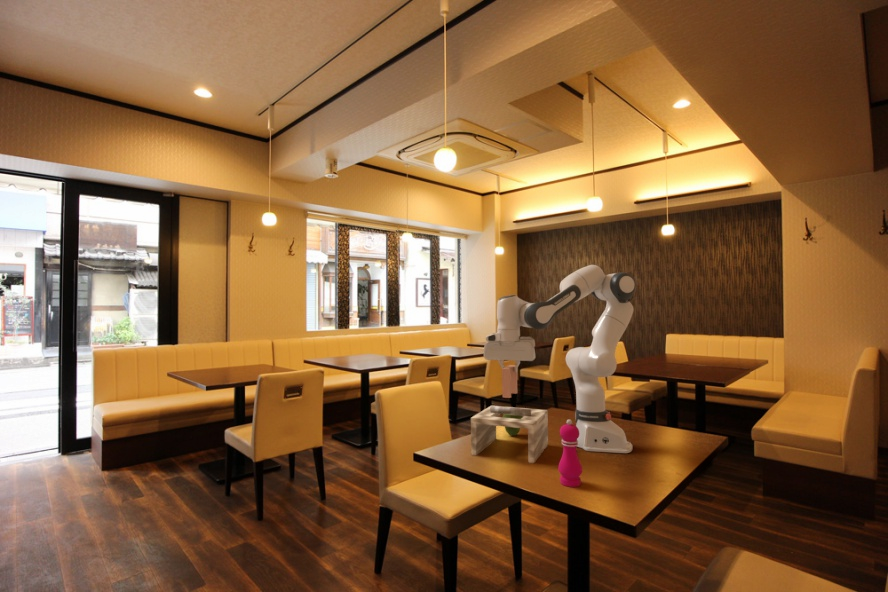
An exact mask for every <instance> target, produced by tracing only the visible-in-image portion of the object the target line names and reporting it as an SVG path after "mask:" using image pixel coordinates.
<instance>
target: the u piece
mask: <svg viewBox="0 0 888 592" xmlns="http://www.w3.org/2000/svg"><path fill="white" fill-rule="evenodd" d="M515 366H516V365H514V364H512V365H511V364H509V365H506V366H504V368H502V367H501V387H502V388H501V389H502V398H506V399H507V398H508V399H510V398H512V394H515V395H516V394H518V371H517V372H513V367H515Z"/></svg>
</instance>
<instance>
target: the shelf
mask: <svg viewBox="0 0 888 592" xmlns="http://www.w3.org/2000/svg"><path fill="white" fill-rule="evenodd" d="M503 414H508V415H519V416H522V417H523V418H521V419H513V418H503V416H502V417H501V415H503ZM548 414H549V413H548V409H537V408H527V407H526V408H525V407H516V406H515V407H513V406H501V405H490V406H488V407H487V408H484V409H483V410H482V411H480V412H478V413H476V414H474V415H473V416H472V417H470V438H471V439H470V448H471V449H470V451H471V453H470V455H472V456H478V455H479V454H480V453H481V452H482V451H484V450H485V449H486V448H487V447H488V446H490V445H491V444H492V443H493V442H494V441H495V439H496V440H497V427H504V428H505V427H515V428H520V429H525V430H527V452H528V453H527V454H528V456H527V457H528V458H527V460H528V463H529V464H535V463H536V461H537V460H538V459H539V458H540V456H541V455H542V454H543V452H544V451H545V450H546V448H548V446H549V430H548V429H549V426H548V425H549V424H548V423H549V421H548V418H549V416H548ZM490 443H491V444H490ZM489 444H490V445H489ZM547 445H548V446H547ZM544 449H545V450H544ZM541 453H542V454H541Z"/></svg>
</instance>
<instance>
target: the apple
mask: <svg viewBox="0 0 888 592" xmlns="http://www.w3.org/2000/svg"><path fill="white" fill-rule="evenodd" d="M502 417H503V418H513V419H521V418H523V417H524V416H519V415H508V414H502ZM504 429H505V431H506V433H507V434H508V435H509V436H515V437H516V436H517V435H518V434H519V433H520V430H521V428H515V427H505V426H504Z"/></svg>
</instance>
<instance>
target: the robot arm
mask: <svg viewBox="0 0 888 592" xmlns="http://www.w3.org/2000/svg"><path fill="white" fill-rule="evenodd" d="M636 289H637V281H636V279H635V278H634V276H633V275H632V274H630V273H629V272H624V271H623V272H621V271H620V272H615V273H609V274H605V273H604V271H603V269H602V268H601V267H600V266H599V265H596V264H588V265H586V266H584V267H581V268H579V269H577V270H575V271H573V272H572V273H570V274H569V275H567V276H565V278H563V279H562V280H561V281H560V283H559V292H558V293H557V294H555V295H554V296H552V297H551V298H549V299H548V300H546V301H542V302H533V303H532V302H528V301H526V300H523V299H522V298H520V297H519V296H518V295H517V294H509V295H506V296H505V295H504V296H502V297H500V298H498V300H497V303H496V320H497V328H496V332H493V333H492V334H488V335H486V336H485V341H486V342H485V343H484V347H483V358H484V359H485V360H486V361H488V360H489V361H498V364H499V366H500V367H501V369H502V368H504V367H505V365H504V361H514V363H515V364H516V366H515V367H513V372H517V373H518V371H519V370H518V367H520V364H521V361H523V362H525V361H526V362H533V361H534V360H535V359H536V351H535V349H536V348H535V347H536V340H535V338H533V337H532V336H521V329H520V328H521V327H523V328H524V327H525V328H530V329H535V330H544V329H545V328H547V327H548V326H549V325H551V323H552V322H553V320H554V319H555V318H556V316H558V314H560V313H561V312H563V311H565V310H566V309H567V308H569V306H572V305H573V304H574V303H576V302H578V301H580V300H582V299H584V298H585V297H587V296H589V295H590V294H591V295H592V297H593V298H594V299H596V300H597V301H601V302H606V305H605V308H604V310H603V312H602V314H601V315H600V317H599V318H598V320H597V321H596V323H595V325H594V327H593V328H592V330H591V335H592V342H591V345H590V346H588V347H586V346H585V347H584V346H578V347H574V348H571V349H569V350H568V351H567V353H566V356H565V363H566V366H567V367H568V368H569V370H570V372H571V376H572V379H573V383H574V386H575V392H576V393H575V394H576V395H575V397H576V398H575V399H576V401H575V402H576V408H575V412H574V413H575V415H574V417H575V420H574V421H575V424H576V425H575V426H576V427H577V428H578V429H579V437H578V438H577V440H578V445H577V447H578V448H580V449H583V450H584V451H587V452H598V453H601V452H602V453H615V454H628V453H631V452H632V451H633V450H634V449H633V444H632V443H631V442H630V441H627V437H626V433H625V430H623V428H621V427H620V426H619V425H618V424H616V423H615V422H614V421H612V420H611V418H612V415H611V411H608V410H607V409H606V392H605V389H604V387H603V386H602V384H601V383H600V380H599V378H608V377H610V376H612V375H613V374H614V373H615V372H616V370H617V366H618V365H617V359H616V349H617V347H618V345H619V344H618V343H619V341H620V340H621V339H622V336H623V335H624V333H625V331H626V330H627V328H628V325H629V323H630V322H631V319H632V317H633V313H634V306H633V304H632V302H631V301H632V300H633V299H634V295H635V293H636Z"/></svg>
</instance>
